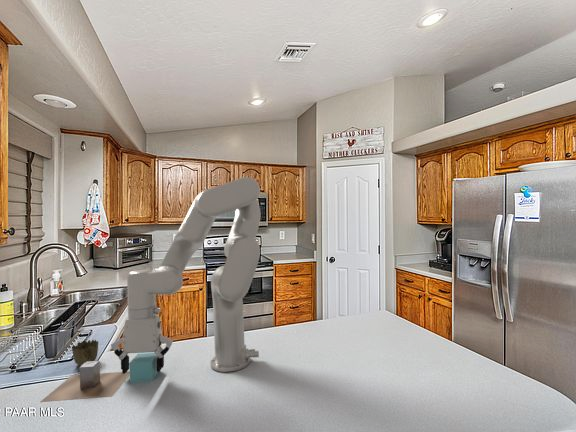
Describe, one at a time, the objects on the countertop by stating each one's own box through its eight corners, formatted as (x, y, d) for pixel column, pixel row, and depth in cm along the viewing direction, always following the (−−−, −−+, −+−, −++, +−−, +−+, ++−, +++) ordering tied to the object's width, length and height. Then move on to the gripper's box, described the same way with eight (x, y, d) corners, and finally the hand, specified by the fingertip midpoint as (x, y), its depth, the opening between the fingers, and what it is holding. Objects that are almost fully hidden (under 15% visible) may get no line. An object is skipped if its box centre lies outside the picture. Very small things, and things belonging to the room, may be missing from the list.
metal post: (100, 381, 94) (99, 360, 94) (93, 388, 91) (92, 366, 91) (87, 382, 94) (86, 361, 94) (80, 389, 91) (79, 367, 90)
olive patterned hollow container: (86, 374, 102) (85, 348, 102) (66, 373, 104) (65, 347, 104) (104, 363, 110) (103, 339, 110) (85, 362, 111) (84, 338, 111)
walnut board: (133, 375, 100) (133, 371, 100) (112, 401, 86) (111, 396, 86) (71, 380, 99) (71, 375, 99) (40, 407, 85) (40, 401, 85)
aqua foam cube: (159, 375, 100) (158, 352, 100) (152, 385, 94) (151, 361, 94) (138, 376, 99) (137, 353, 99) (130, 387, 93) (129, 363, 93)
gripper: (175, 307, 101) (176, 363, 101) (117, 309, 99) (118, 366, 99) (168, 315, 93) (169, 375, 93) (105, 317, 92) (106, 378, 92)
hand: (142, 370), depth 96 cm, fingers open, 9 cm apart
